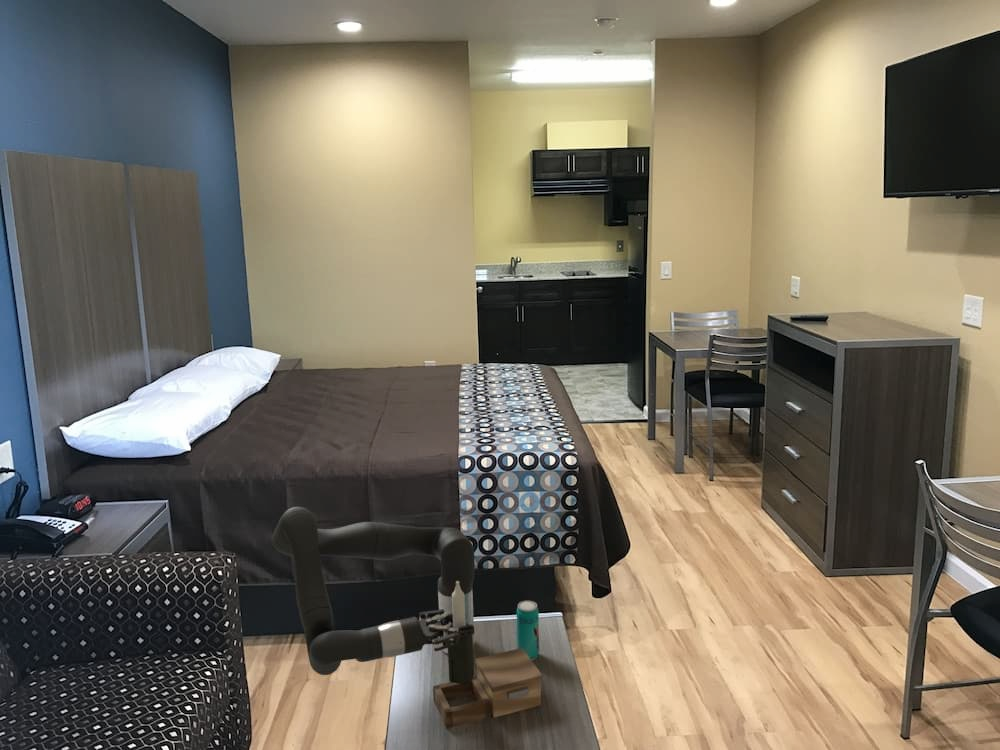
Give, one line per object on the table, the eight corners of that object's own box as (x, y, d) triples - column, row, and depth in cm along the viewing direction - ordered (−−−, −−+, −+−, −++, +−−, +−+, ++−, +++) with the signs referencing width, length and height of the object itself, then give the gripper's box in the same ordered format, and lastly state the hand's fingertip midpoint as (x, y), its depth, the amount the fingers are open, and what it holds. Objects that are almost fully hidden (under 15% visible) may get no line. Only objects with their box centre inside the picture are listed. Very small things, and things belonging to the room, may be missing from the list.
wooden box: (432, 697, 191) (430, 667, 189) (521, 675, 199) (521, 646, 197) (448, 732, 178) (447, 700, 176) (543, 707, 186) (543, 676, 184)
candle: (475, 673, 186) (471, 577, 180) (467, 685, 181) (463, 587, 176) (455, 669, 188) (451, 574, 182) (447, 682, 183) (443, 585, 177)
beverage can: (537, 663, 203) (536, 611, 200) (515, 661, 205) (514, 610, 201) (540, 651, 209) (539, 600, 206) (519, 649, 210) (518, 599, 207)
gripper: (405, 638, 169) (478, 622, 175) (391, 607, 182) (459, 593, 188) (407, 669, 171) (480, 652, 176) (393, 636, 184) (460, 621, 190)
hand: (469, 622), depth 182 cm, fingers closed on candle, 6 cm apart
